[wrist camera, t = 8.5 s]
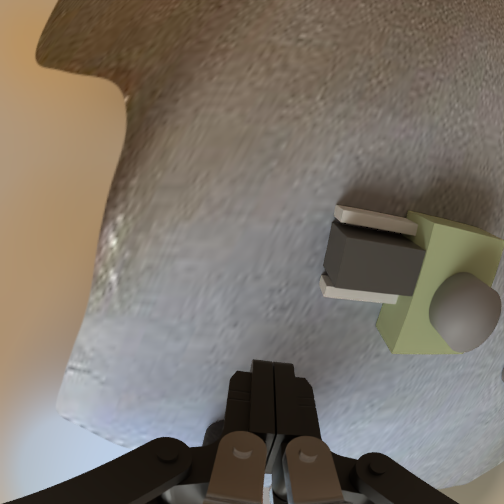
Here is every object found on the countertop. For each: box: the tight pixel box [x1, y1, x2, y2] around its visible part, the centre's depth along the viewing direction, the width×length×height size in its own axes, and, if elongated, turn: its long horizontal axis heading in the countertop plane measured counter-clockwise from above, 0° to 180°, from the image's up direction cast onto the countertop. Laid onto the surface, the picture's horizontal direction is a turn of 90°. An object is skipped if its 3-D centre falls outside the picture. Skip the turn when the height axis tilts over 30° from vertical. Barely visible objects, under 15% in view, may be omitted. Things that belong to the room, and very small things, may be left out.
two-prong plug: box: [319, 205, 504, 354], centre depth 24 cm, size 16×12×8 cm
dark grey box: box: [323, 222, 426, 297], centre depth 25 cm, size 7×4×5 cm, turn 82°
